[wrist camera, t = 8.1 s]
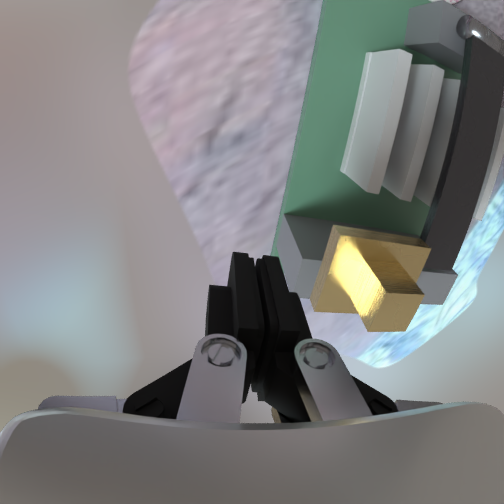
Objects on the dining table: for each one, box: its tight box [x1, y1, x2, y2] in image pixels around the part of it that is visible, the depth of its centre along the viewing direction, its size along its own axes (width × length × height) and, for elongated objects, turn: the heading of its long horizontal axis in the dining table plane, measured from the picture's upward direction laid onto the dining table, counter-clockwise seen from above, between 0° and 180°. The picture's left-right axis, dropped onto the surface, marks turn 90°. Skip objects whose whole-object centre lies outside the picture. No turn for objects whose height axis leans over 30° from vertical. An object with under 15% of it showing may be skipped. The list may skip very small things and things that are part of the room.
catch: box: [310, 225, 431, 332], centre depth 13 cm, size 4×5×3 cm
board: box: [271, 0, 504, 305], centre depth 16 cm, size 22×15×7 cm
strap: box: [419, 15, 504, 271], centre depth 13 cm, size 15×3×2 cm, turn 170°
